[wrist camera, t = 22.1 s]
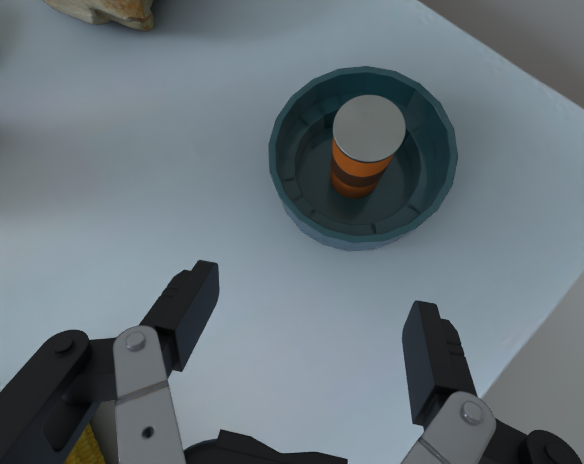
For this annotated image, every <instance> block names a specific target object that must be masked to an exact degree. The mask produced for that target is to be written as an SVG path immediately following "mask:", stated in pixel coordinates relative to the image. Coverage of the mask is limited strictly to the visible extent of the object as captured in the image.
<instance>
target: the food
mask: <svg viewBox="0 0 584 464" xmlns="http://www.w3.org/2000/svg"><path fill="white" fill-rule="evenodd" d="M64 464H106V463H105V460H104V457H103V455H101V450H100V449H99V445H98V442H97V440H96V439H95V437H94V433H93V432H92V429H91V426H90V424H89V423H88V424H87V426H86V428H85V429H84V431H83V433H82V434H81V436H80V438H79V439H78V441H77V442H76V444H75V446H74V447H73V449H72V451H71V452H70V454H69V456H68V457H67V459H66V461H65V462H64Z"/></svg>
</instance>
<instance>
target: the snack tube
mask: <svg viewBox="0 0 584 464" xmlns="http://www.w3.org/2000/svg"><path fill="white" fill-rule="evenodd" d="M405 130H406V126H405V120H404V117H403V115H402V113H401V111H400V110H399V108H398V107H397V106H396V105H395V104H394V103H392V102H391V101H390V100H388V99H386V98H383V97H381V96H376V95H362V96H358V97H355V98H353V99H351V100H349V101H348V102H346V103H345V104H344V105H343V106H342V107H341V108H340V109H339V111H338V112H337V114H336V116H335V119H334V123H333V142H332V151H331V168H330V180H331V184H332V186H333V188H334V189H335V190H336V191H337V192H338V193H339V194H340V195H342V196H344V197H347V198H352V199H357V198H362V197H365V196H367V195H368V194H370V193H371V192H372V191H373V190H374V189H375V187H376V185H377V184H378V182H379V180H380V178H381V177H382V176H383V174H384V172H385V171H386V169H387V167H388V165H389V163H390V162H391V160H392V157H393V155H394V153H395V152H396V151H397V150H398V149H399V147H400V145H401V144H402V142H403V139H404V136H405Z"/></svg>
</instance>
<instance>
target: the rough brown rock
mask: <svg viewBox="0 0 584 464" xmlns="http://www.w3.org/2000/svg"><path fill="white" fill-rule="evenodd" d="M43 1H44V2H45V3H46V4H48V5H49V6H51V7H52V8H53V9H55V10H57V11H59V12H61V13H64V14H68V15H70V16H72V17H74V18H77V19H80V20H82V21H85V22H87V23H89V24H94V25H100V24H106V23H108V22H109V21H115V22H119V23H120V24H122V25H124V26H127V27H130V28H133V29H137V30H141V31H149V30H151V29H152V28H153V26H154V16H153V14H152V12H151V10H150V7H151V6H152V2H153V1H154V0H43Z"/></svg>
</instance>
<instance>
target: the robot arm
mask: <svg viewBox="0 0 584 464" xmlns="http://www.w3.org/2000/svg"><path fill="white" fill-rule="evenodd" d="M218 297H219V271H218V264H217V263H214V262H209V261H203V260H199V261H197V263H196V264H195V266H194V267H193V269H192V270H191V271H188V270H183V271H182V272H180V273H179V274H177V275H176V276H174V277H173V279H172V280H171V281H170V283H169V284H168V286H167V288H165V290H164V291H163V292H162V294H161V296H160V297H159V298H158V299H157V301H156V302H155V303H154V305H153V306H152V308H151V309H150V310H149V312H148V313H147V315H146V316H145V317H144V319H143V320H142V321H141V323H140V324H139V325H138V326H134V327H131V328H129V329H127V330H125V331H123V332H122V333H121V334H120V335H119V336H118V337H116V338H108V339H95V340H89V338H88V336H87V334H86V333H85V332H83V331H80V330H67V331H63V332H60V333H58V334H56V335H54V336H52V337H51V338H49V339H48V340H47V341H46V342H45V343H44V344H43V345H42V346H41V347H40V348H39V349H38V351H37V352H36V353H35V354H34V355H33V356H32V357H31V358H30V359H29V361H28V362H27V363H26V364H25V365H24V366H23V367H22V368H21V370H20V371H19V372H18V373H17V374H16V375H15V376H14V377H13V379H12V380H11V381H10V382H9V383H8V384H7V385H6V386H5V387H4V389H3V390H2V391H1V392H0V464H64V462H65V461H66V459H67V457H68V456H69V454H70V452H71V451H72V449H73V447H74V446H75V444H76V442H77V441H78V439H79V438H80V436H81V434H82V433H83V431H84V429H85V428H86V426H87V424H88V423H89V421H90V419H91V418H92V416H93V415H94V413H95V411H96V410H97V408H98V406H99V405H100V403H101V402H102V401H111V400H116V401H115V417H116V430H117V443H118V455H119V464H347V463H348V459H345V458H341V457H336V456H332V455H328V454H324V453H319V452H300V453H279V452H277V451H276V450H274V449H272V448H270V447H269V446H267V445H265V444H263V443H261V442H260V441H258V440H256V439H254V438H253V437H251V436H247V435H242V434H238V433H234V432H230V431H225V430H221V429H220V432H219V435H218V438H217V439H211V440H206V441H202V442H200V443H197V444H194V445H192V446H190V447H188V448H187V449H185V450H183V447H182V442H181V438H180V433H179V429H178V424H177V420H176V415H175V411H174V406H173V402H172V397H171V392H170V388H169V383H168V378H169V376H170V374H171V372H172V370H175V371H180V372H182V371H183V369H184V367H185V365H186V363H187V361H188V359H189V357H190V355H191V353H192V351H193V349H194V347H195V345H196V343H197V341H198V339H199V337H200V335H201V333H202V331H203V330H204V328H205V326H206V324H207V322H208V320H209V318H210V316H211V314H212V312H213V310H214V308H215V306H216V304H217V301H218ZM402 344H403V352H404V360H405V368H406V376H407V383H408V391H409V399H410V407H411V415H412V423H413V424H416V425H421V426H423V428H424V433H423V434H422V436H421V437H420V438H419V439H418V440H417V441H416V443H415V444H414V445H413V447H412V448H411V450H410V451H409V452H408V454H407V455H406V457H405V458H404V459H403V461H402V462H401V464H582V462H581V460H580V458H579V457H578V455H577V454H576V453H575V451H574V450H573V449H572V448H571V447H570V446H569V445H568V444H567V443H566V442H565V441H564V440H562V439H561V438H559V437H558V436H556V435H554V434H552V433H550V432H547V431H544V430H534V431H532V432H531V433H530V434H529V435H526V434H524V433H522V432H520V431H518V430H516V429H514V428H512V427H510V426H508V425H506V424H504V423H502V422H501V421H499V420H498V419H496V418H495V417H494V415H493V413H492V411H491V410H490V408H489V407H488V406H487V405H486V404H485V403H484V402H483V401H482V400H481V399H480V398H478V396H477V393H476V390H475V387H474V384H473V380H472V377H471V374H470V371H469V367H468V364H467V361H466V358H465V357H464V351H463V348H462V346H461V341H460V338H459V335H458V332H457V330H456V329H455V328H454V326H453V325H452V324H451V323H450V321H449V320H446V319H441V318H440V314H439V311H438V307H437V305H436V304H434V303H428V302H423V301H417V300H416V301H414V303H413V305H412V308H411V310H410V313H409V315H408V318H407V320H406V322H405V325H404V328H403V333H402Z"/></svg>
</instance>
